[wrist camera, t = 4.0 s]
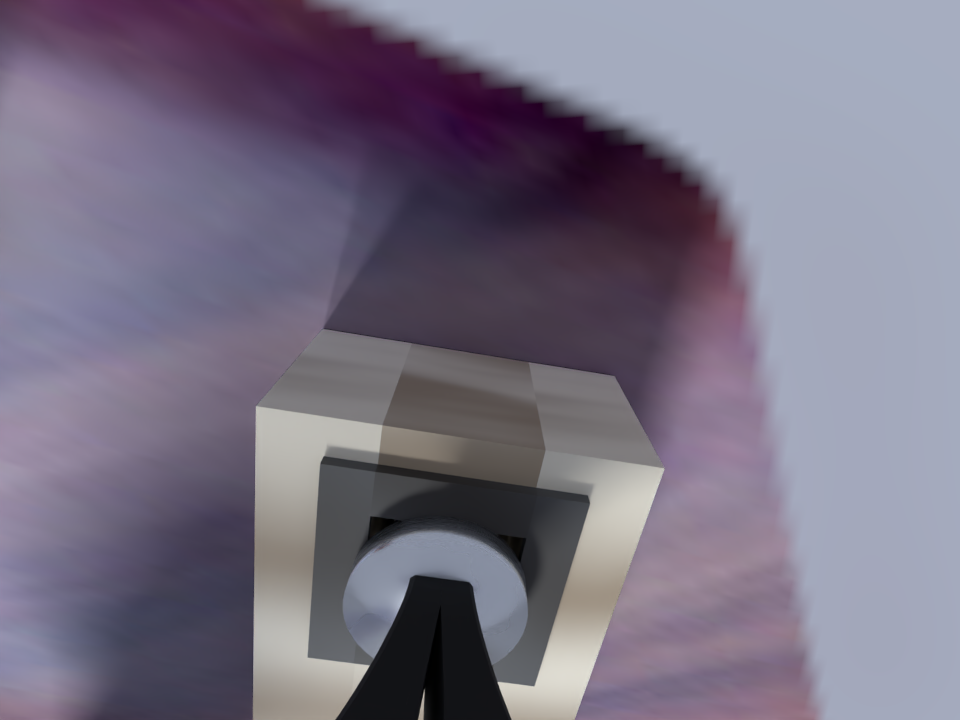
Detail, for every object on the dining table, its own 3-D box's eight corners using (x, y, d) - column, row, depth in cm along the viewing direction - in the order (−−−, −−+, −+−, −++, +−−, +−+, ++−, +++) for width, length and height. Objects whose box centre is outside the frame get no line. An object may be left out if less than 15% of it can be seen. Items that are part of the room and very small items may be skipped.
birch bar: (497, 774, 24) (500, 937, 19) (296, 751, 24) (247, 911, 19) (614, 375, 16) (668, 476, 12) (322, 328, 16) (250, 412, 11)
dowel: (502, 548, 17) (508, 687, 13) (374, 530, 17) (336, 665, 13) (529, 438, 16) (545, 554, 11) (388, 417, 16) (349, 527, 11)
